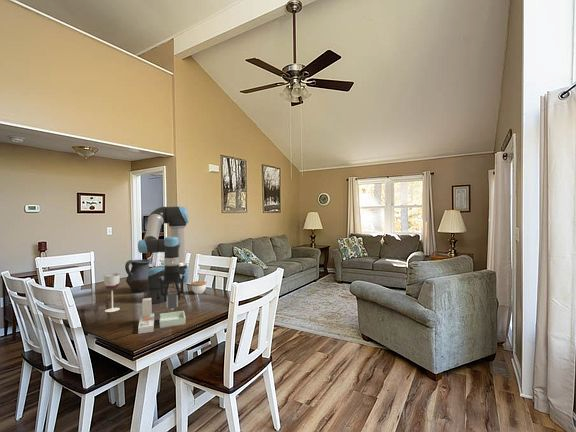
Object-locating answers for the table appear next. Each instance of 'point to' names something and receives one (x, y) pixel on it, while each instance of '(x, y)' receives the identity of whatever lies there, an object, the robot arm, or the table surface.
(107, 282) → the wineglass
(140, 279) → the pitcher
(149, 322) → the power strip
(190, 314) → the table surface
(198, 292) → the white round bowl
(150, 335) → the table surface
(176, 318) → the tray
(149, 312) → the white charger
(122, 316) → the table surface
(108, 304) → the table surface
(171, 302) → the black charger
